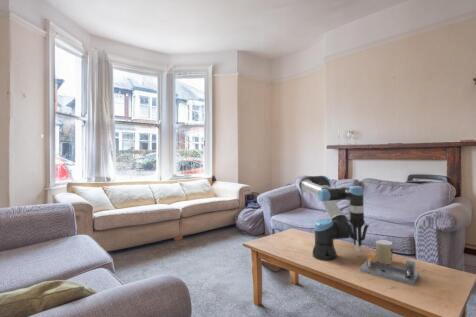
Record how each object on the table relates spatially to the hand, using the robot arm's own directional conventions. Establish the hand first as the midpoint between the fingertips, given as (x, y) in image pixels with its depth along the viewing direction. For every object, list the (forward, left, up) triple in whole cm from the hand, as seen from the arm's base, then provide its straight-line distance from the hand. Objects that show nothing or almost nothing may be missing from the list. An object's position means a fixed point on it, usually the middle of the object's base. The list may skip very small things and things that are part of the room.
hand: (358, 250), depth 160 cm
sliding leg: (+8, -2, -6) cm, 10 cm away
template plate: (+17, -2, -8) cm, 19 cm away
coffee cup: (+11, +13, -8) cm, 19 cm away
